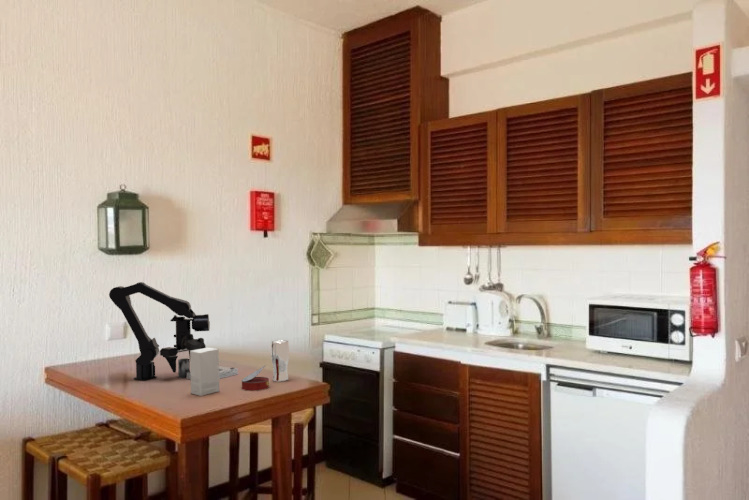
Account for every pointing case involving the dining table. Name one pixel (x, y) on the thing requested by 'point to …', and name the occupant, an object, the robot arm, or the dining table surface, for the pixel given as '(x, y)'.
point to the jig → (222, 372)
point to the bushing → (183, 367)
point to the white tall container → (280, 360)
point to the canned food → (255, 381)
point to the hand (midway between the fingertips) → (183, 370)
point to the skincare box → (204, 371)
